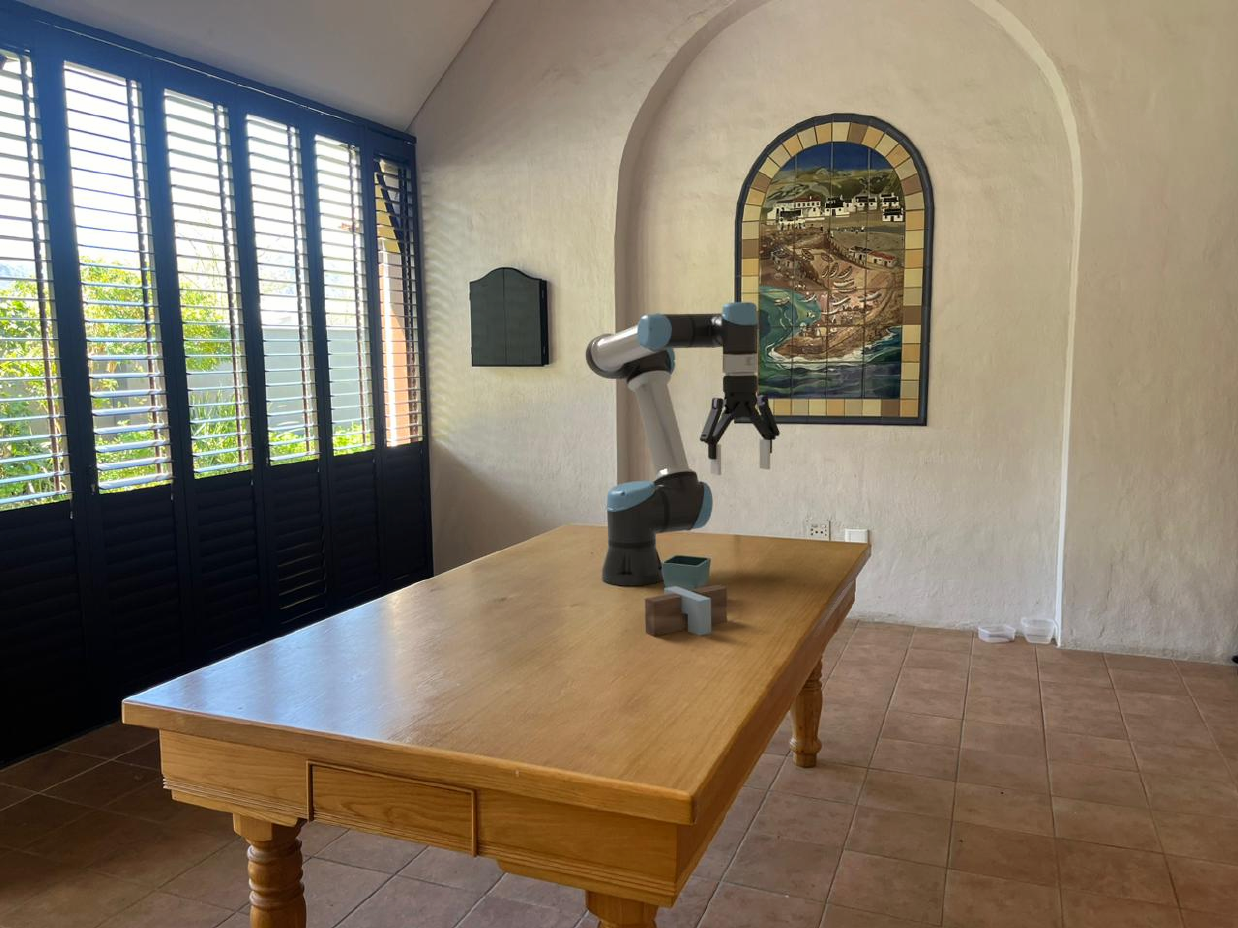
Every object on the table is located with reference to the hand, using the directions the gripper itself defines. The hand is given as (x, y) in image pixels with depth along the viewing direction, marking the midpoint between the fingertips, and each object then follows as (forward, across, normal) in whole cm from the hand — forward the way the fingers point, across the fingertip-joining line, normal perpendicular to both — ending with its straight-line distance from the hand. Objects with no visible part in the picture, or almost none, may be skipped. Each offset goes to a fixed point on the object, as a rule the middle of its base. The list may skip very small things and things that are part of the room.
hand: (740, 471), depth 206 cm
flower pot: (+29, -10, +7) cm, 31 cm away
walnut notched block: (+29, -22, -10) cm, 38 cm away
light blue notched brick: (+29, -22, -10) cm, 38 cm away
